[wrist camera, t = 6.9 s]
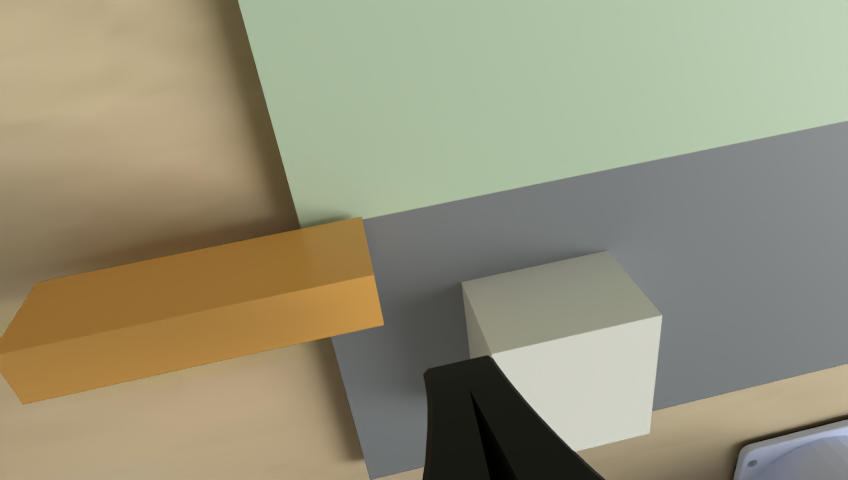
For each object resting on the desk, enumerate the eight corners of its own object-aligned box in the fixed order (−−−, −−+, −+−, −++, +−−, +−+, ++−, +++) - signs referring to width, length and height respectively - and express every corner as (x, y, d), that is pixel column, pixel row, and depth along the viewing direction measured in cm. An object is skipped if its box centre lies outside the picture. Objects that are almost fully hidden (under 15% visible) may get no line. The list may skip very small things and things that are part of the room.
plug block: (602, 361, 23) (649, 433, 20) (474, 391, 22) (501, 469, 19) (607, 250, 20) (662, 315, 17) (461, 282, 20) (491, 354, 17)
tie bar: (371, 262, 18) (384, 324, 16) (61, 327, 17) (22, 404, 15) (361, 216, 17) (373, 274, 15) (36, 282, 16) (-11, 356, 14)
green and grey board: (860, 340, 27) (879, 355, 26) (367, 459, 25) (370, 480, 24) (1027, -141, 17) (1066, -142, 16) (239, -11, 15) (237, -4, 14)
